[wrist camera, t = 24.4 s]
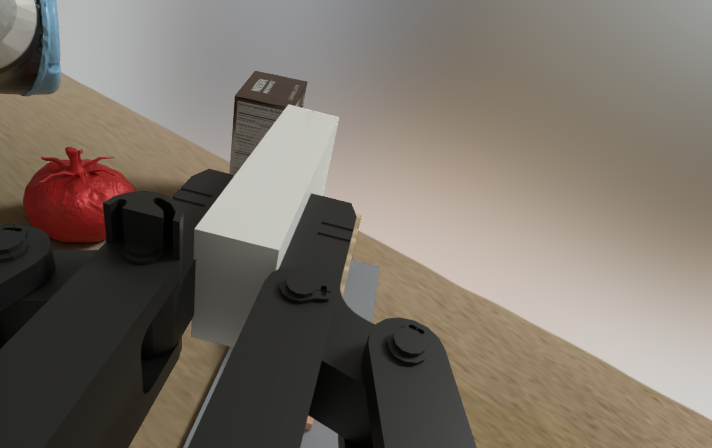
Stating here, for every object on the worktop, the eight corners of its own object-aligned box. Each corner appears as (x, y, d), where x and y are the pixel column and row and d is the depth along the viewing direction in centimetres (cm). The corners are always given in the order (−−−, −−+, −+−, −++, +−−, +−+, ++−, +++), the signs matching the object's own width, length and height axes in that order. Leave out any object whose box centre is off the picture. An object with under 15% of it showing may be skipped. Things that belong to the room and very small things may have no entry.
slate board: (169, 480, 32) (169, 476, 32) (278, 244, 56) (279, 241, 56) (341, 523, 32) (343, 519, 32) (378, 269, 56) (379, 266, 56)
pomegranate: (110, 265, 48) (103, 187, 43) (7, 244, 47) (-13, 161, 42) (151, 210, 56) (149, 139, 51) (64, 192, 55) (52, 118, 50)
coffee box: (243, 185, 65) (254, 68, 56) (290, 195, 65) (308, 80, 56) (224, 223, 57) (233, 93, 48) (277, 234, 57) (296, 107, 49)
